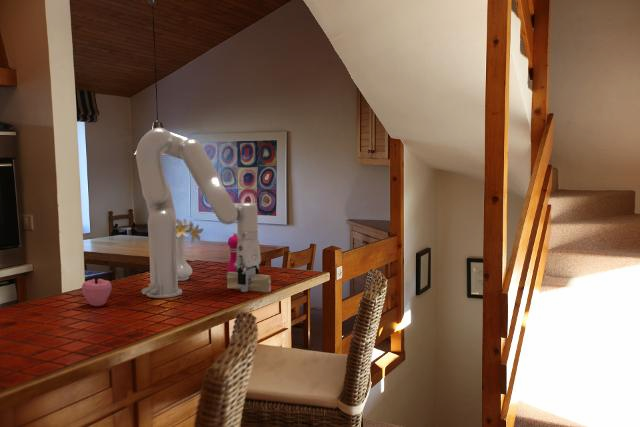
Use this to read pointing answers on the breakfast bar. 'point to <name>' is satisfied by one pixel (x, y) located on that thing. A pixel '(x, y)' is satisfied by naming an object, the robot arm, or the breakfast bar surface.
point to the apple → (96, 291)
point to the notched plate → (248, 273)
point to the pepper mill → (233, 252)
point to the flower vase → (181, 231)
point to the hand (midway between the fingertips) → (248, 281)
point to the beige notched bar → (257, 282)
